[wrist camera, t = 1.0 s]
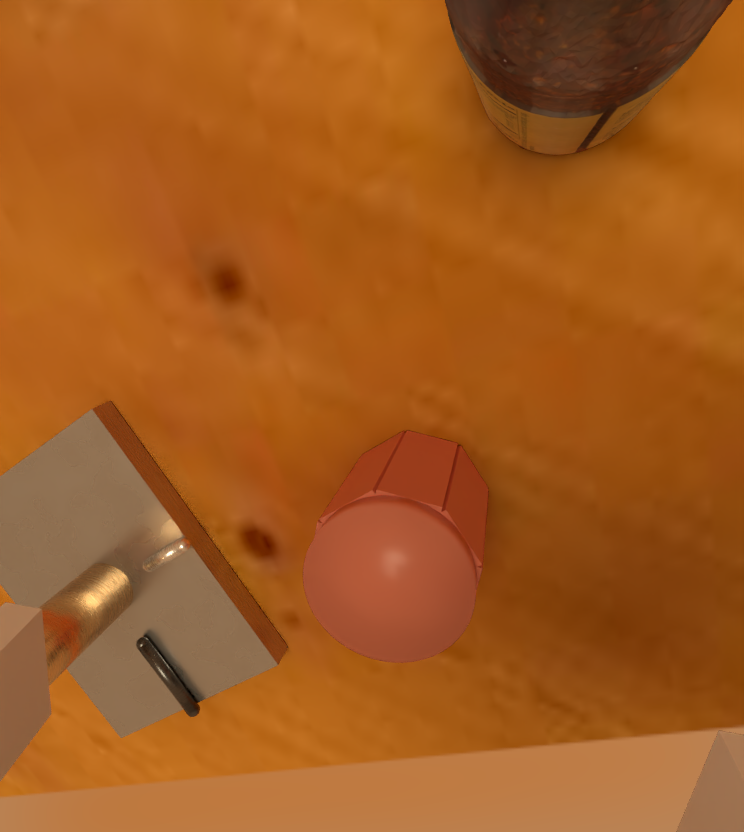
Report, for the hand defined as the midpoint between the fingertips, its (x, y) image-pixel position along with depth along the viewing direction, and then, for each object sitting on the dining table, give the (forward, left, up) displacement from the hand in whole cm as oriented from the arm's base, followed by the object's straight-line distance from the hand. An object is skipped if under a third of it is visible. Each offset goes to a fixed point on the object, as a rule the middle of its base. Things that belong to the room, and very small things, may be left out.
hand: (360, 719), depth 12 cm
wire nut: (-2, +3, -17) cm, 18 cm away
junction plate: (+2, +20, -17) cm, 26 cm away
